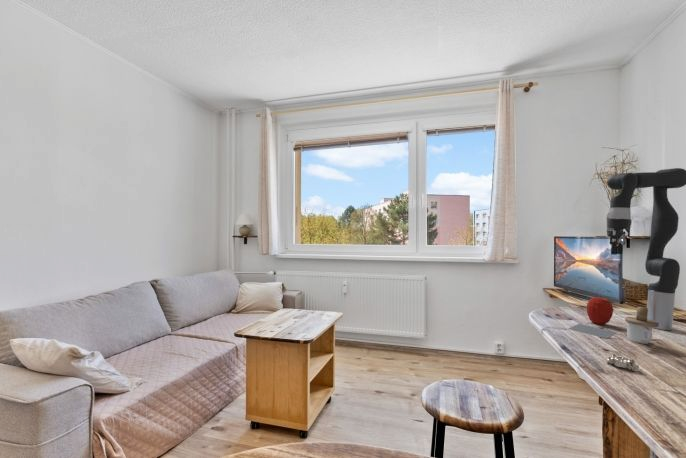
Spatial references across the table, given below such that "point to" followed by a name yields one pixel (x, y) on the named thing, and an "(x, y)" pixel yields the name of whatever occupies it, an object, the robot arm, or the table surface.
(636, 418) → the table surface
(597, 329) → the mat
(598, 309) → the apple
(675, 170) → the robot arm
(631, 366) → the ornament
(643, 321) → the lid
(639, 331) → the cup
